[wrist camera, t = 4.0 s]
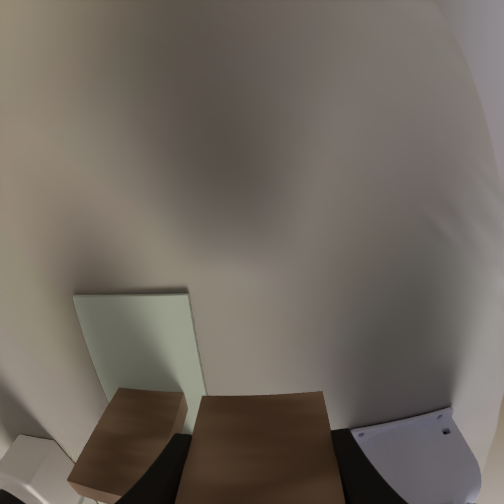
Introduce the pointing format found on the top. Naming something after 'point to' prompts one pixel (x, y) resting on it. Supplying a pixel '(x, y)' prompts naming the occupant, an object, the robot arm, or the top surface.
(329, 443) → the end domino
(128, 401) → the domino
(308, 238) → the top surface
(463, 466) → the robot arm
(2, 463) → the medicine bottle
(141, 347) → the domino mat
